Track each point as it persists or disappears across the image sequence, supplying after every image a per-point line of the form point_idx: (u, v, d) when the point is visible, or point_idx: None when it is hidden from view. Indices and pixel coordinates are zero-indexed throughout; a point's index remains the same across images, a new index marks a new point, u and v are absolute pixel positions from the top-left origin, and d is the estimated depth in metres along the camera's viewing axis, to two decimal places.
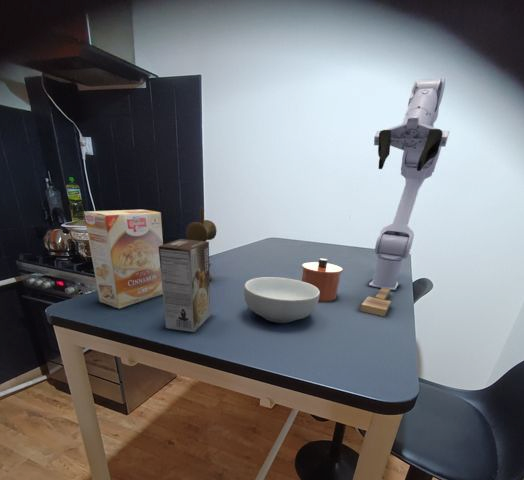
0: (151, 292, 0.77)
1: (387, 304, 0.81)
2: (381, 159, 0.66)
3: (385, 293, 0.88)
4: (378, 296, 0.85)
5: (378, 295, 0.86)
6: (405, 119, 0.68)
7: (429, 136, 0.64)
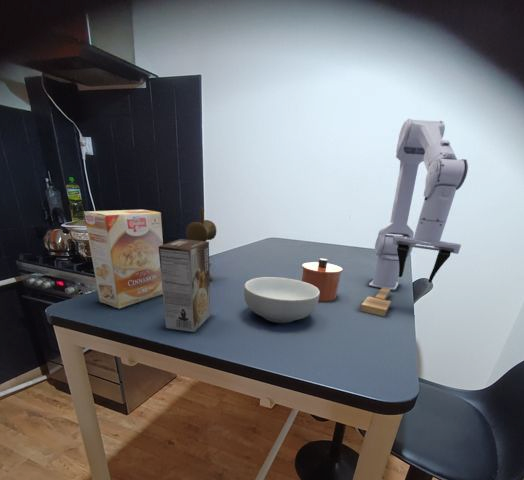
0: (151, 292, 0.77)
1: (387, 304, 0.81)
2: (400, 276, 0.79)
3: (385, 293, 0.88)
4: (378, 296, 0.85)
5: (378, 295, 0.86)
6: (419, 231, 0.72)
7: (438, 259, 0.73)
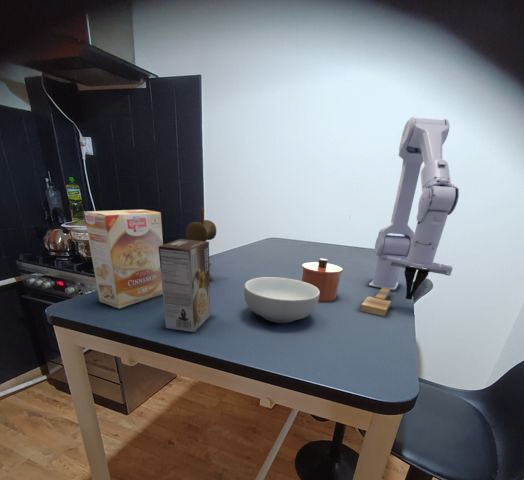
0: (151, 292, 0.77)
1: (387, 304, 0.81)
2: (407, 298, 0.80)
3: (385, 293, 0.88)
4: (378, 296, 0.85)
5: (378, 295, 0.86)
6: (412, 253, 0.75)
7: (416, 278, 0.76)
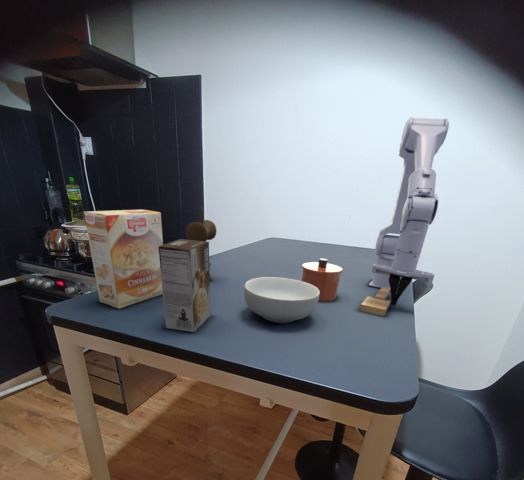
0: (151, 292, 0.77)
1: (387, 304, 0.81)
2: (392, 304, 0.82)
3: (385, 293, 0.88)
4: (378, 296, 0.85)
5: (378, 295, 0.86)
6: (396, 261, 0.77)
7: (400, 285, 0.79)
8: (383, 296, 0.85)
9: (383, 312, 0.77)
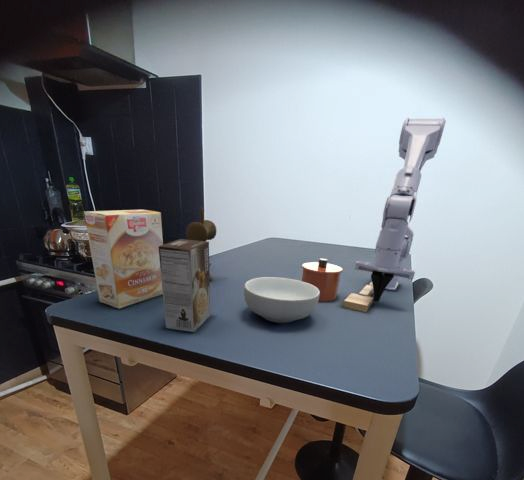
0: (151, 292, 0.77)
1: (369, 300, 0.82)
2: (375, 300, 0.84)
3: (369, 290, 0.90)
4: (361, 293, 0.87)
5: (361, 292, 0.88)
6: (377, 258, 0.79)
7: (382, 282, 0.80)
8: (367, 293, 0.87)
9: (365, 308, 0.79)
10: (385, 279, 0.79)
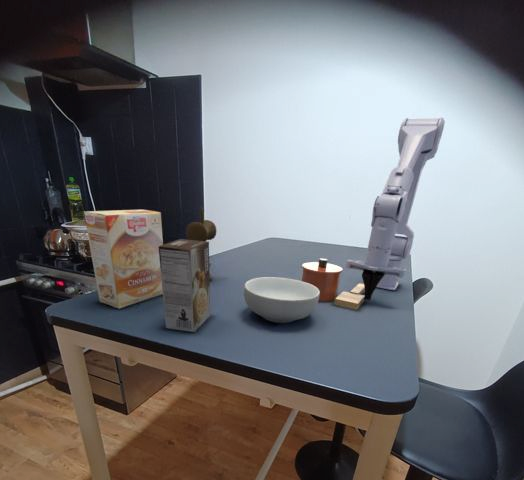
0: (151, 292, 0.77)
1: (360, 298, 0.83)
2: (366, 298, 0.85)
3: (361, 288, 0.91)
4: (353, 291, 0.88)
5: (353, 290, 0.89)
6: (368, 257, 0.80)
7: (372, 280, 0.81)
8: (358, 291, 0.88)
9: (356, 306, 0.80)
10: (376, 277, 0.80)
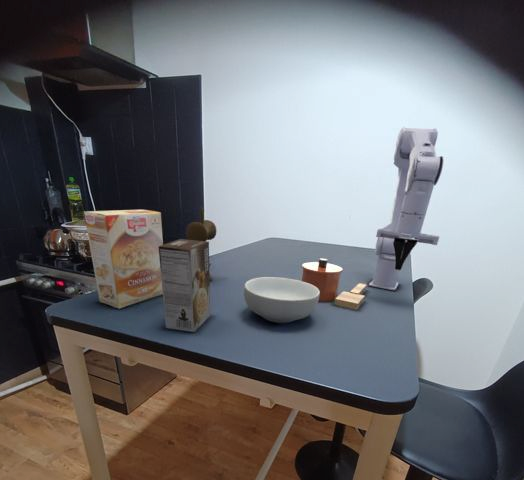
0: (151, 292, 0.77)
1: (360, 298, 0.83)
2: (396, 268, 0.83)
3: (360, 288, 0.91)
4: (353, 291, 0.88)
5: (353, 290, 0.89)
6: (401, 224, 0.78)
7: (405, 248, 0.79)
8: (358, 291, 0.88)
9: (356, 306, 0.80)
10: (408, 245, 0.78)
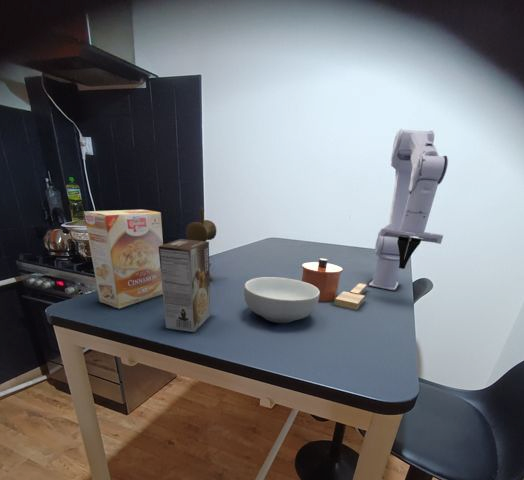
0: (151, 292, 0.77)
1: (360, 298, 0.83)
2: (400, 267, 0.83)
3: (360, 288, 0.91)
4: (353, 291, 0.88)
5: (353, 290, 0.89)
6: (405, 222, 0.78)
7: (409, 247, 0.80)
8: (358, 291, 0.88)
9: (356, 306, 0.80)
10: (412, 244, 0.79)
